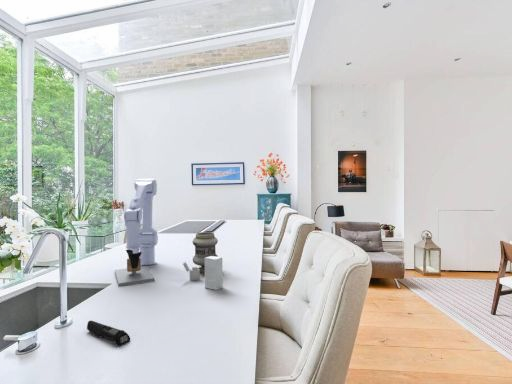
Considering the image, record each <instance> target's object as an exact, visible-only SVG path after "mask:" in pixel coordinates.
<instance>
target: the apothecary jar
mask: <svg viewBox="0 0 512 384" xmlns="http://www.w3.org/2000/svg"><path fill="white" fill-rule="evenodd" d="M215 236H216V235H215V233H214V232H213V231H201V232H196V235H195V238H193V240H192V244H193V246H194V249H195V250H194V251H195V252H194V256H192V262H193V263H194V264H195V265H197V266H199V267H197V268H198V269H200V275H201V274H203V275H205V258H206V257H209V256H215V257H219V256H218V254H217V252H216V245H217V244H218V238H217V237H215Z"/></svg>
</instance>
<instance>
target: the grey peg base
mask: <svg viewBox="0 0 512 384" xmlns="http://www.w3.org/2000/svg"><path fill="white" fill-rule="evenodd" d="M114 274H115V278H116V281H117V286H118V287H123V286H129V285H130V286H131V285H136V284H143V283H144V284H145V283H151V282H155V281H156V280H155V276H154V275H153V273H152V272H151V270H150V269H149V267H148V265H142V266H141V270H139V271H135V272H128V271H127V267H126V268H120V269H115V270H114Z"/></svg>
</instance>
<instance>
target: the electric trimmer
mask: <svg viewBox="0 0 512 384" xmlns="http://www.w3.org/2000/svg"><path fill="white" fill-rule="evenodd" d="M86 329H87V331H89V333H91V334H93V335H94V336H95V337H97V338H105V339H106V340H107V339H108V340H109V341H111V342H114V344H115V346H116V347H121V346H124V345H126V344H128V343H130V342H131V337H130V335H129V333H127V332H126V330H123V329H119V328H116V327H113V326H109V325H106V324H103V323H100V322H97V321H94V320H89V321H87V325H86Z"/></svg>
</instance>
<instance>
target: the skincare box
mask: <svg viewBox="0 0 512 384" xmlns="http://www.w3.org/2000/svg"><path fill="white" fill-rule="evenodd" d="M223 273H224V272H223V257H222V256H218V257H215V256H209V257H206V258H205V274H204V288H205V289H210V290H215V291H217V290H220V289H221V288H223V286H224V285H223V284H224V281H223V280H224V279H223V275H224V274H223Z"/></svg>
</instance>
